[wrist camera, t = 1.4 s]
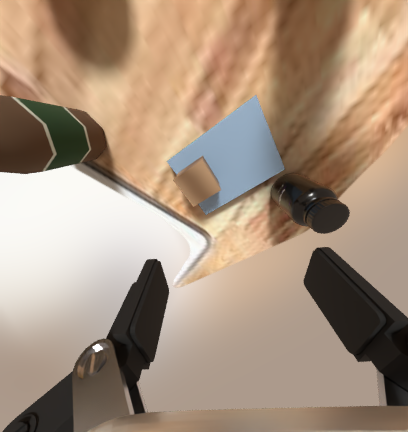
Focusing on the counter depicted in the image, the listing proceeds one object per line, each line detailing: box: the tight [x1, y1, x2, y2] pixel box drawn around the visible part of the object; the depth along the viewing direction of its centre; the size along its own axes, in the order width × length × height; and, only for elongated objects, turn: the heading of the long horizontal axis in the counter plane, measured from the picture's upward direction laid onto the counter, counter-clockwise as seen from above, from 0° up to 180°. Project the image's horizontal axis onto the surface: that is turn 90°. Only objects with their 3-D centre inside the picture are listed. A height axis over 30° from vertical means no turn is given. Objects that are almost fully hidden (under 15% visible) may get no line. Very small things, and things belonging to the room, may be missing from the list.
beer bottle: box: [0, 95, 106, 174], centre depth 15 cm, size 8×8×24 cm
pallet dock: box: [167, 95, 285, 215], centre depth 27 cm, size 16×12×3 cm
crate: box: [173, 156, 221, 207], centre depth 24 cm, size 5×5×5 cm
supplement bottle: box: [271, 173, 350, 234], centre depth 25 cm, size 7×7×12 cm
